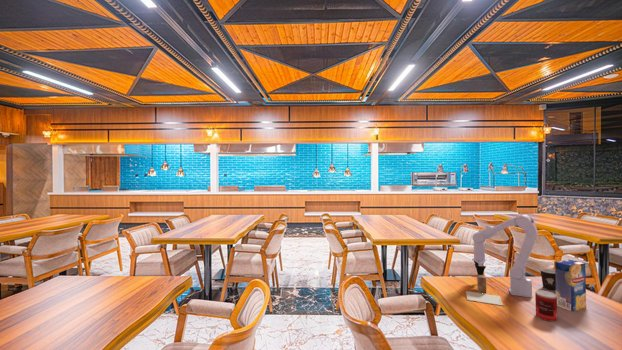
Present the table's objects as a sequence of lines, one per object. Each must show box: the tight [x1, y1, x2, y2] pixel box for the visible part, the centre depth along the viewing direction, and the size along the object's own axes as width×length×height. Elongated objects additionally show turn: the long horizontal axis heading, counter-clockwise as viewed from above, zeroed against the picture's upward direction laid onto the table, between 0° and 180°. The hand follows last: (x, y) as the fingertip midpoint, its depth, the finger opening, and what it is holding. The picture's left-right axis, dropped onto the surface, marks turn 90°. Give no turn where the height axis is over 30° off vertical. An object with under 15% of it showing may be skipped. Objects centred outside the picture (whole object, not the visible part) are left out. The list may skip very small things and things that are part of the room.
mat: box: [465, 290, 504, 307], centre depth 151 cm, size 16×12×1 cm
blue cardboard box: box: [554, 258, 587, 312], centre depth 140 cm, size 7×11×22 cm, turn 109°
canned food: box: [534, 289, 558, 322], centre depth 130 cm, size 8×8×11 cm
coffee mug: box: [539, 268, 556, 292], centre depth 161 cm, size 12×9×10 cm
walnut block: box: [476, 274, 487, 294], centre depth 159 cm, size 4×4×9 cm
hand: (479, 274), depth 170 cm, fingers open, 7 cm apart
